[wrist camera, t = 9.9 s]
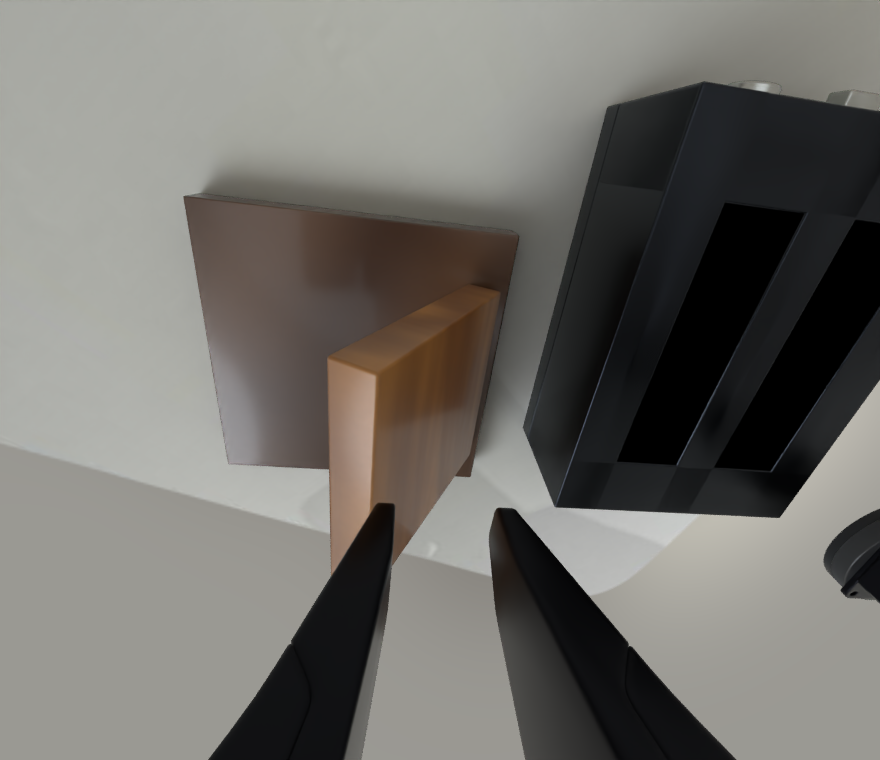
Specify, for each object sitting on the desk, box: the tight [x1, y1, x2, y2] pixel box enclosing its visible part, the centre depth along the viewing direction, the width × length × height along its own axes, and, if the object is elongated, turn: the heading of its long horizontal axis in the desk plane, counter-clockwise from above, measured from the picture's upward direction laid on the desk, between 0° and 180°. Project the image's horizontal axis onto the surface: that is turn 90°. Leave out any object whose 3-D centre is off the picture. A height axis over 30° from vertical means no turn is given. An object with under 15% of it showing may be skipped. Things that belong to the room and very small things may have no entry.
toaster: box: [523, 81, 880, 518], centre depth 16 cm, size 10×15×6 cm, turn 173°
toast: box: [327, 284, 501, 576], centre depth 14 cm, size 1×8×8 cm, turn 173°
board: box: [184, 193, 519, 477], centre depth 18 cm, size 12×12×1 cm
